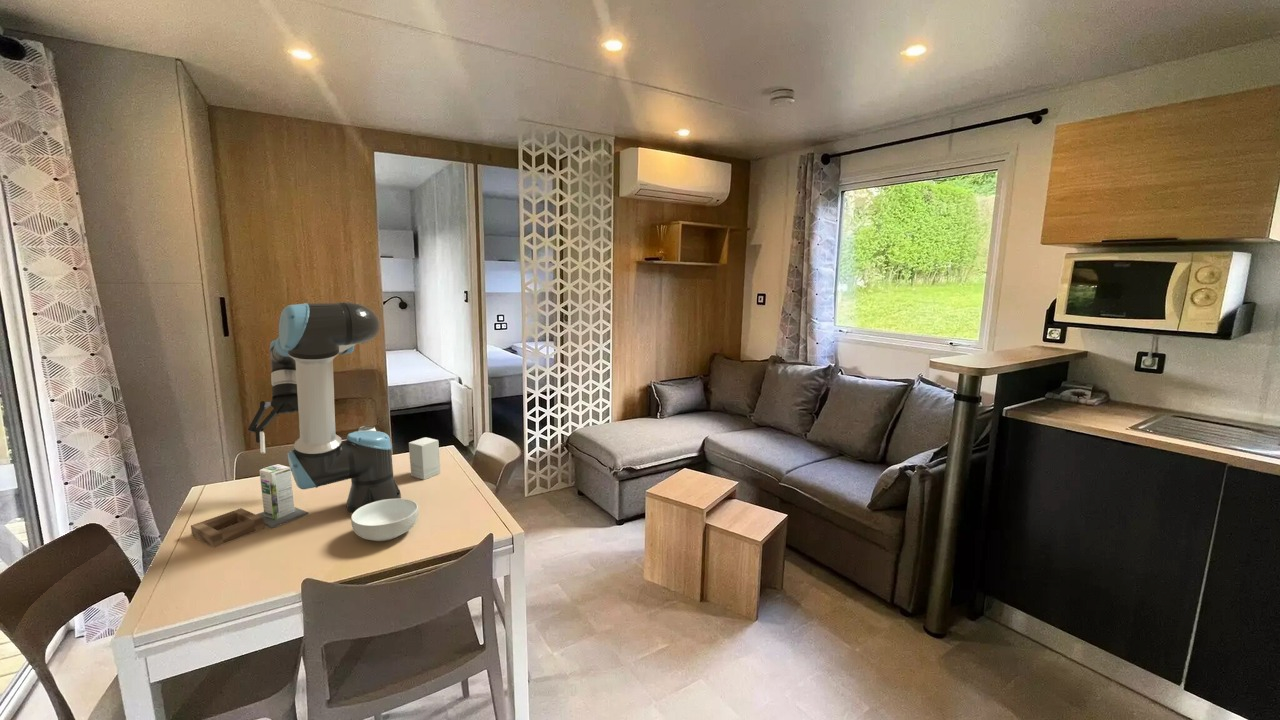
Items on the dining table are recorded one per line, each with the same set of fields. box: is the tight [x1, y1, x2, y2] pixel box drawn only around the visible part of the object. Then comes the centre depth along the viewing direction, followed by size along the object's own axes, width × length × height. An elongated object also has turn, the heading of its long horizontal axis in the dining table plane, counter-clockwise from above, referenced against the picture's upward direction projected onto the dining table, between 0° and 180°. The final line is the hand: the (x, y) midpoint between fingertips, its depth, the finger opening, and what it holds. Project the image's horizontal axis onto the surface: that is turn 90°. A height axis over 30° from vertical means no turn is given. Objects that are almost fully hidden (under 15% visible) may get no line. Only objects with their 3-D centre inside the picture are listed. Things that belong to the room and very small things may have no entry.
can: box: [358, 425, 377, 431], centre depth 201 cm, size 6×6×12 cm
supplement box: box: [408, 437, 441, 480], centre depth 184 cm, size 7×7×13 cm
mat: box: [255, 506, 309, 529], centre depth 153 cm, size 12×10×1 cm
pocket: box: [190, 508, 265, 549], centre depth 143 cm, size 12×12×3 cm
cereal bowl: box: [350, 498, 419, 542], centre depth 143 cm, size 17×17×7 cm
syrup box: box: [259, 463, 295, 520], centre depth 152 cm, size 6×6×14 cm
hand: (288, 449), depth 164 cm, fingers open, 13 cm apart
